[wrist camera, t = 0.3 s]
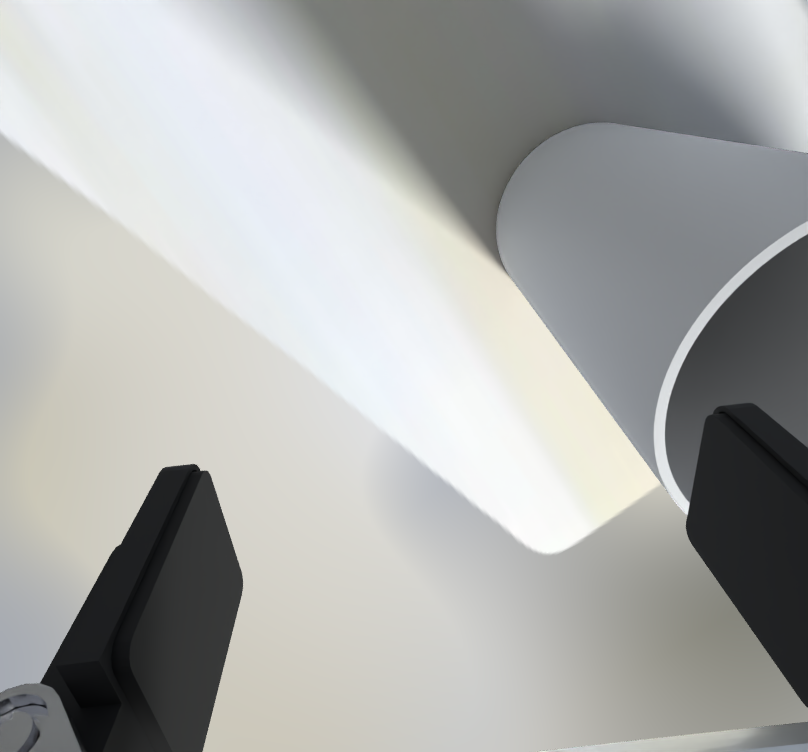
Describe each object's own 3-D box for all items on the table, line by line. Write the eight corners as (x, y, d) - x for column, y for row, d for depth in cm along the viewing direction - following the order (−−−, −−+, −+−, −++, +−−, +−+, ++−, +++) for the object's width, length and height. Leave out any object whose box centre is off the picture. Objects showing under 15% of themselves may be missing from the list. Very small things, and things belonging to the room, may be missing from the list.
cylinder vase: (456, 220, 39) (573, 401, 17) (603, 76, 35) (1002, 60, 13) (565, 335, 43) (770, 598, 21) (705, 218, 40) (1130, 387, 17)
